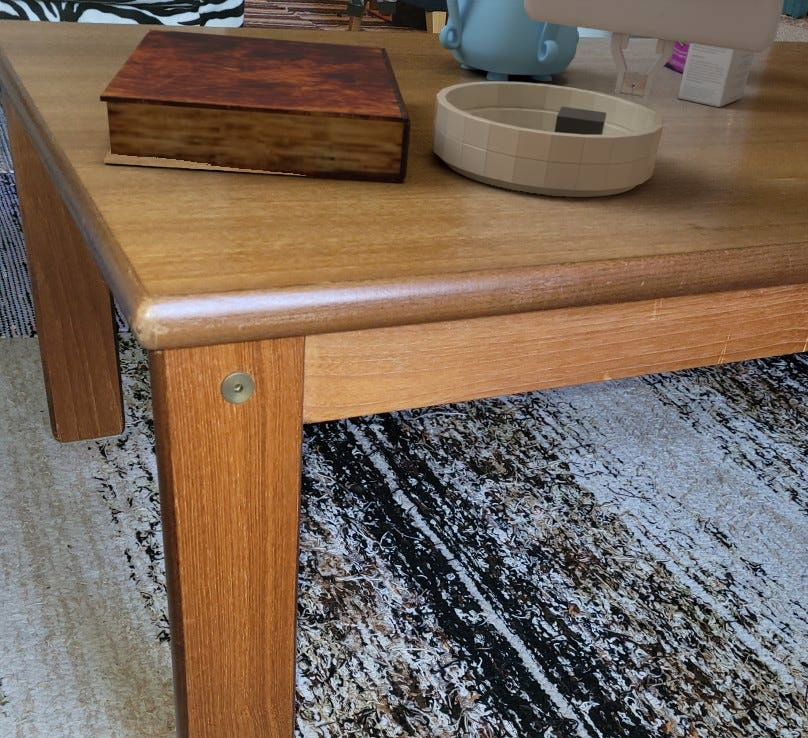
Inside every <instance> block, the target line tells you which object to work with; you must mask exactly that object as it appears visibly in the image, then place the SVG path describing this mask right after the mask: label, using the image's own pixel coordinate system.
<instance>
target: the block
mask: <svg viewBox="0 0 808 738" xmlns="http://www.w3.org/2000/svg"><path fill="white" fill-rule="evenodd" d="M605 119H606V113H605V112H598V111H591V110H584V109H576V108H569V107H561V109H560V111H559V113H558V115H557V119H556V125H555V131H554V132H558V133H570V134H583V135H602V134H603V129H604V124H605Z"/></svg>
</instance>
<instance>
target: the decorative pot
mask: <svg viewBox="0 0 808 738" xmlns="http://www.w3.org/2000/svg"><path fill="white" fill-rule="evenodd" d="M524 1H525V0H446V5H447V6H446V7H447V12H448V17H447V21H446V25H444V26H443V27H442V28H441V30H440V32H439V37H438V39H439V43H440V45H441V46H442V48H444V49H446V50H449V52H451V55H452V57H453V59H455V60H456V61H458V62H459V63H461V66H460V68H462V69H465V70H474V71H479V70H483V71H486V72H487V74H486V77H485V78H486V79H487V80H488V81H495V82H496V81H501V82H509V75H517V76H519V75H520V76H521V75H522V76H530V78H531V80H535V81H542V82H550V81H553V78H552V75H559V74H562V73H563V72H564V71H566V69H567V68H568V67H569V65H570V64H571V63H572V62H573V60H574V59H575V56H576V54H577V47H578V44H579V42H580V33H579V31H578V27H574V26H567V25H560V24H553V23H546V22H539V21H533V20H531V19H530V18H529V16H528V14H527V13H526V10H525V8H524Z"/></svg>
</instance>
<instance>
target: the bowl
mask: <svg viewBox="0 0 808 738" xmlns="http://www.w3.org/2000/svg"><path fill="white" fill-rule="evenodd" d="M561 107H569V108H576V109H584V110H591V111H598V112H605V113H606V119H605V124H604V129H603V134H602V135H583V134H570V133H558V132H554V131H555V125H556V119H557V115H558V113H559V111H560V109H561ZM433 117H434V118H433V126H432V127H433V128H432V138H431V147H432V151H433V153H434V154H435V155H436V156H437V157H439V159H441V160H442V161H443V163H444V164H445V165H446V166H447V167H448V168H450V169H451V170H452V171H454V172H456V173H458V174H459V175H461V176H464V177H466V178H468V179H470V180H473V181H476V182H478V183H482V184H486V185H489V184H490V186H493V185H495V186H494V187H496V186H498V187H497V188H500V187H503V188H502V189H505V188H507V189H506V190H509V189H511V191H514V190H517V191H516V192H520V191H525V192H524V193H526V192H532V193H531V194H533V193H538V194H537V195H540V194H545V195H544V196H550V195H552V196H551V197H563V196H565V197H566V198H595V197H606V196H612V195H617V194H622V193H625V192H628V191H631V190H632V189H635V188H636V187H637V186H638V185H642V184H644V183H645V182H647V181H648V180H650V179H651V178H652V177H653V174H654V170H655V166H656V160H657V156H658V152H659V147H660V142H661V139H662V134H663V129H664V119H663V118H662V117H661V115H660V114H658V112H656V111H653V110H651V109H650V108H648V107H646V106H644V105H641V104H639V103H636V102H633V101H630V100H628V99H624V98H623V97H618V96H614V95H610V94H606V93H602V92H597V91H593V90H587V89H581V88H577V87H569V86H563V85H555V84H548V83H538V82H537V83H536V82H526V81H525V82H524V81H493V80H490V81H474V82H472V81H471V82H466V83H457V84H454V85H450V86H447V87H444V88H442V89H440V91H438V93H436V97H435V107H434V116H433Z"/></svg>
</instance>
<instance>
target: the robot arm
mask: <svg viewBox="0 0 808 738" xmlns="http://www.w3.org/2000/svg"><path fill="white" fill-rule="evenodd" d="M784 1H785V0H525V1H524V8H525V10H526V13H527V14H528V16H529V18H530V19H531V20H533V21H539V22H546V23H553V24H560V25H567V26H574V27H577V28H582V29H589V30H595V31H596V30H597V31H603V32H608V33H612V36H611V40H610V46H609V48H610V51H611V55H612V59H613V61H614V65H615V68H616V71H617V72H618V74H617V78H616V83H615V88H614V94H616V95H621V96H629V97H636V98H643V99H649V98H650V94H651V89H652V86H653V81H654V77H656V76H657V75H658V74H659V73H660V72H661V70H662V69H663V68H664V66H666V65H665V64H666V63H667V62H668V60H669V59H670V58H671V57H672V54H673V50H674V45H675V41H679V42H686V43H693V44H700V45H707V46H714V47H721V48H729V49H736V50H743V51H750V52H754V53H756V54H757V53H759V54H760V53H763V52H764V51H766V50H767V49H768V48H770V46H771V45H773V44H774V42H775V40H776V37H777V34H778V31H779V26H780V21H781V18H782V17H781V16H782V12H783V8H784ZM631 36H639V37H645V38H651V39H652V38H653V39H657V42H656V46H655V53H656V54H657V55H658V56H657V58H655V60H654V61H653V62H652V64H650V66H649V67H648V68H647V70H646V71H643V70H637V69H629V68H628V66H627V62H626V58H625V55H624V52H623V50H626V49H628V47H629V42H630V37H631Z"/></svg>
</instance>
